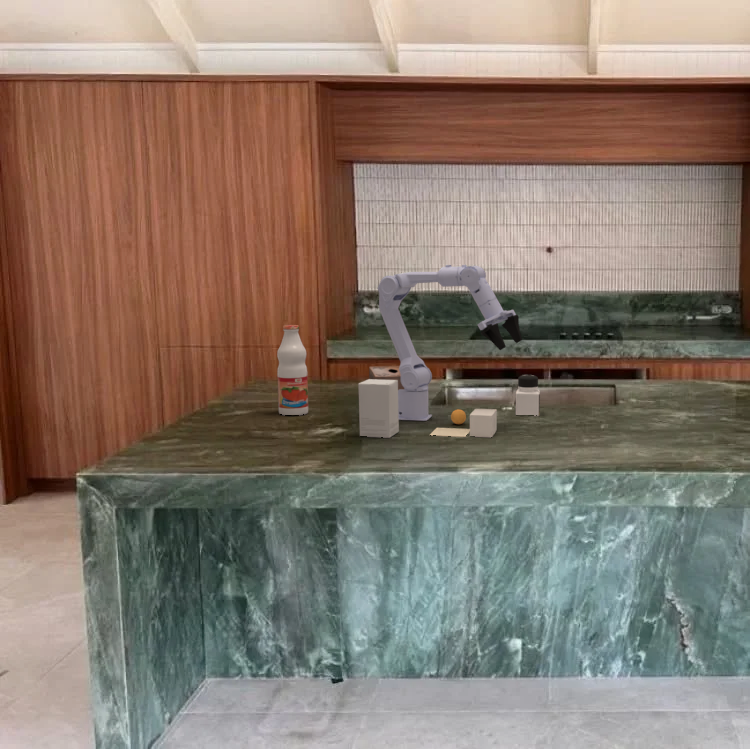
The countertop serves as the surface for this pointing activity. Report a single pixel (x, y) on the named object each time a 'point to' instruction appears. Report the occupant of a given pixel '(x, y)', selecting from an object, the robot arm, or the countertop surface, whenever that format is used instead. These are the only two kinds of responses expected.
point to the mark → (450, 432)
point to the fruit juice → (292, 374)
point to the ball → (458, 416)
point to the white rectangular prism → (483, 422)
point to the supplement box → (378, 408)
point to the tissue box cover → (386, 374)
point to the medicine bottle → (528, 396)
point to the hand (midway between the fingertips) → (511, 345)
